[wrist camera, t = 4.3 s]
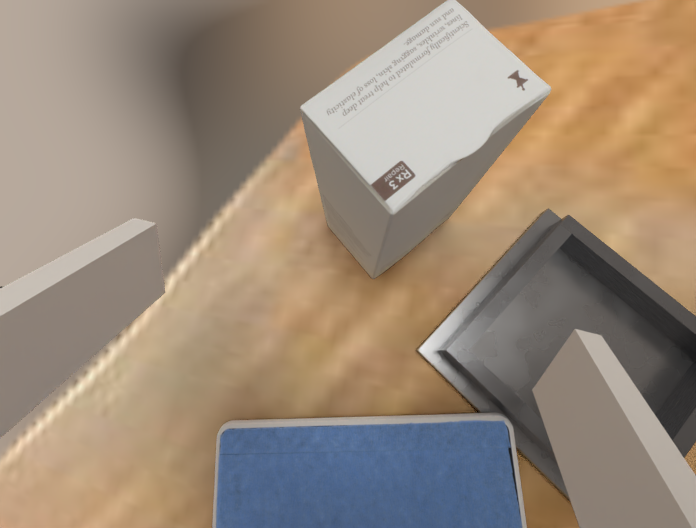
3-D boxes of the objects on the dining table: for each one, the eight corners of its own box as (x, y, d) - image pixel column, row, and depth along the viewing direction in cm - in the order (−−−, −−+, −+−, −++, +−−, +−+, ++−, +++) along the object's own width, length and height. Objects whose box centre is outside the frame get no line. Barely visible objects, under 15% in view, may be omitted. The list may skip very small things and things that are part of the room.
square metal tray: (542, 212, 27) (565, 196, 24) (723, 359, 25) (774, 361, 22) (415, 350, 25) (424, 350, 22) (601, 531, 22) (639, 559, 19)
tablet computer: (506, 410, 23) (514, 413, 22) (538, 642, 20) (550, 662, 19) (223, 418, 24) (215, 421, 23) (212, 641, 21) (202, 660, 20)
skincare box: (402, 169, 28) (455, -18, 14) (452, 222, 27) (566, 78, 13) (322, 229, 27) (289, 94, 13) (371, 288, 26) (396, 212, 12)
